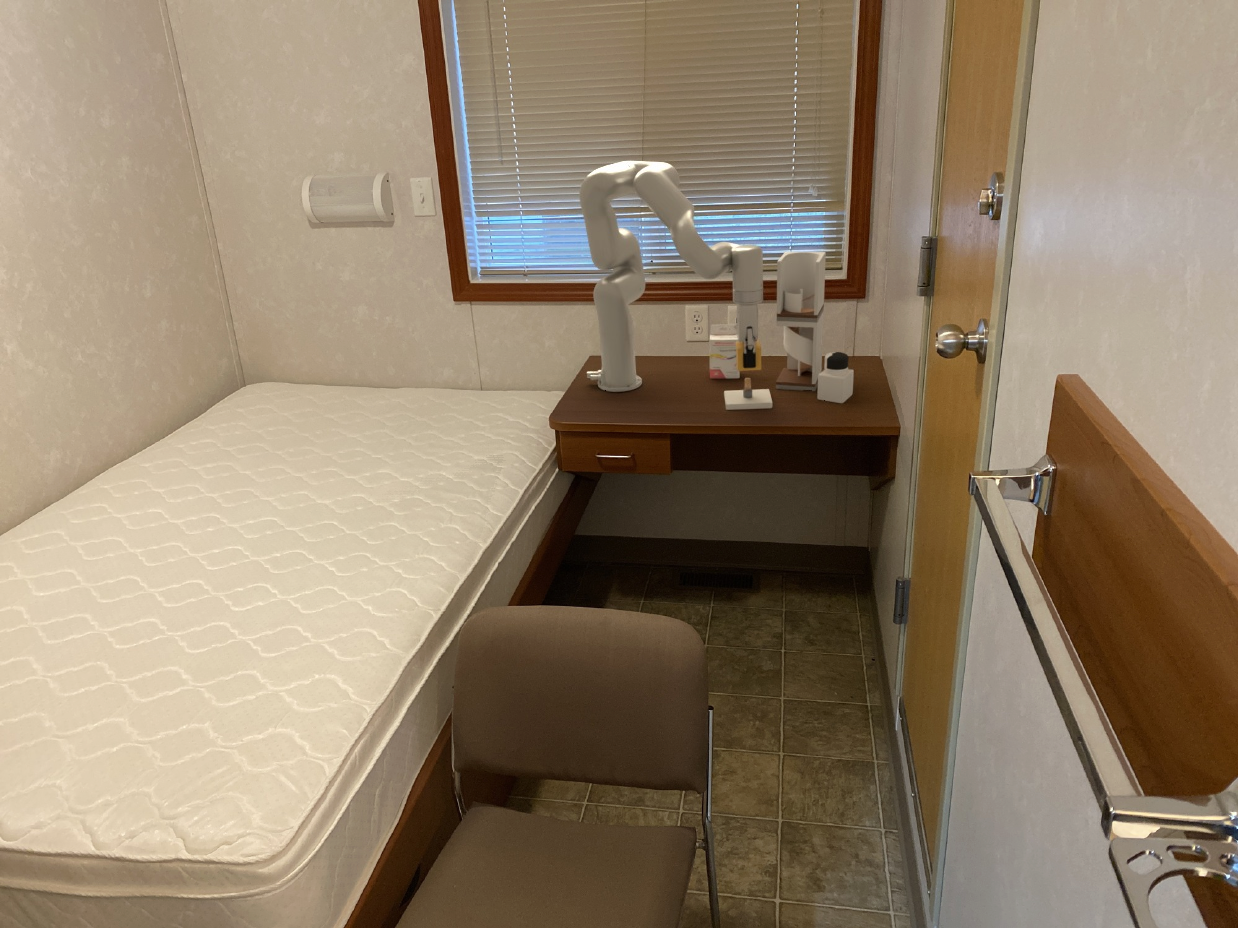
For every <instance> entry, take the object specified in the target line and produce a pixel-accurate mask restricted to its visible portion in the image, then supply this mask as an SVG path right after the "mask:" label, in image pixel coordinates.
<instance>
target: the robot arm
mask: <svg viewBox="0 0 1238 928" xmlns="http://www.w3.org/2000/svg"><path fill="white" fill-rule="evenodd" d="M680 181H681V179H680V175H679V172H678V171H677V169H676V168H675V167H674V166H673V165H672V164H670V163H667V162H662V161H661V162H660V161H643V160H642V161H638V160H625V161H619V162H614V163H613V164H612V163H611V164H607V165H605V166H602V167H599V168H597V169H595V170H593V171H591V172H590V173H589V174H587V176H586V177H585V178H584V180H583V181H582V182H581V185H580V188H579V194H578V195H579V198H578V199H579V203H580V204H579V205H580V207H581V209H580V210H581V212H582V216H583V220H584V224H585V232H586V235H587V236H586V237H587V241H588V242H587V243H588V246H589V247H588V249H589V252H590V258H591V261H592V264H593V265H594V266H595V268H597V269H598V270H601V271H611V270H612V273H610V274H608V275H605V276H604V277H602V278H601V279H599V280H598V281H597V283H596V284H595V287H594V289H593V294H592V295H593V301H594V305H595V310H596V314H597V322H598V331H599V342H600V355H601V356H600V358H601V369H598V370H596V371H590V370H589V371H586V378H587V379H590V381H597V386H598V388H599V389H600V390H602V391H605V390H606V391H605V392H613V393H619V392H620V393H621V392H628V391H633V390H635V389H638V388H639V387H641V385H642V384H643V379H642V378H641V377H640V376H639V375H637V370H636V369H637V367H636V353H635V352H636V351H635V333H634V323H633V322H634V320H633V317H632V314H631V311H630V308H629V305H630V304H631V303H634V302H635V301H637V300H639V299H640V298H641V297H642V296H643V294H644V292H645V289H646V275H645V269H644V264H643V259H642V258H643V257H642V253H641V252H642V251H641V247H640V243H639V240H638V239H637V237H636V235H635V234H634V233H633V232H632V231H631V230H629V229H627V228H623V227H619V225H618V218H617V215H616V212H615V210H614V208H613V206H612V205H611V201H613V200H615V199H618V198H621V197H624V196H627V195H637V196H638V197H639V198H640V199H641V201H642V202H643V203H644V204H645V205H646V206H647V208H649V210H650V211H651V212H652V213H653V214H654V215H655V216H656V217H657V219H659V221H661V223H662V224H663V225H664V226H665V227H666V228H667V230H668V231H669V233H670V237H671V240H672V242H673V245H674V247H675V250H676V252H677V253H678V255H679V256H680V258H681V259H682V260H683V261H684V262H685V263H686V264H687V266H688V267H689V268H690V269H691V270H692V271H693V272H694V273H695V274H696V275H698V276H699V277H700V278H702V279H705V280H708V281H710V280H715V279H717V278H719V277H721V276H723V275H724V274H727V273H730V272H731V271H732V303H733V304H735V305H736V324H737V338H738V342H740V343H741V342H743V341H744V353H743V367H744V368H755V367H756V352H755V342H756V341H758V338H759V337H758V336H759V304H760V303H762V302H763V301H764V275H763V274H764V269H763V268H764V264H763V261H764V258H763V257H764V254H763V249H762V247H761V246H759V245H756V244H737V243H734V242H733V243H732V242H728V241H721V242H717V243H715V244H713V245H711V246H709V245H708V244H707V243H706V241H704V239H703V238H702V237H701V236H700V234H699V233H698V231H697V229H696V227H695V221H694V219H695V212H696V211H695V205H694V204H693V203H692V202H691V201H690V200H689V198H687V197H686V196H685V194H684V193H682V191H681V190H680V189H679V186H680V183H681V182H680ZM746 344H748V345H747V346H746Z"/></svg>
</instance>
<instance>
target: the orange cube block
mask: <svg viewBox="0 0 1238 928" xmlns="http://www.w3.org/2000/svg"><path fill="white" fill-rule="evenodd" d="M747 345H748V344H746V346H747ZM755 352H756V367H755V368H744V367H743V353H744V341H743V342H741V343H740V342H736V364H737V369H738V371H740V372H743V371H748V372H749V371H762V346H761V342H760V340H757V341H756V342H755Z"/></svg>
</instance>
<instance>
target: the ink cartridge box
mask: <svg viewBox="0 0 1238 928" xmlns="http://www.w3.org/2000/svg"><path fill="white" fill-rule="evenodd" d="M709 326H710V327H709V329H710V334H709V379H740V376H741V374H740V372H741V371H738V369H737V364H736V342H738V338H737V323H726V324H723V323H722V324H720V323H719V324H710V325H709ZM723 328H725V329H723ZM721 329H723V330H721ZM726 329H727V330H726ZM728 329H729V330H728Z"/></svg>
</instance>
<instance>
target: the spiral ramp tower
mask: <svg viewBox="0 0 1238 928" xmlns="http://www.w3.org/2000/svg"><path fill="white" fill-rule="evenodd" d="M826 253H827V252H826V251H784V253H783V254H782V255H781V256H780V258H778V260H777V263H776V264H777V265H776V267H777V268H776V273H777V274H776V327H783V348H784V350H785V351H786V352H787V356H786V358H787V359H786V360H787V361H786V362H787V363H786V367H783V368H782V370H781V371H780V373H779V376H778V377H777V379H776V381H775V389H776V390H791V391H792V390H793V391H803V390H812V391H811V392H816V390H817V389H818V375H819V374H820V373H821V372H822V371H823V370H822V368H823V367H822V365H823V342H824V339H823V338H824V337H823V336H824V313H825V312H824V311H825V310H824V309H825V308H824V307H825V280H826V255H827V254H826Z"/></svg>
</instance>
